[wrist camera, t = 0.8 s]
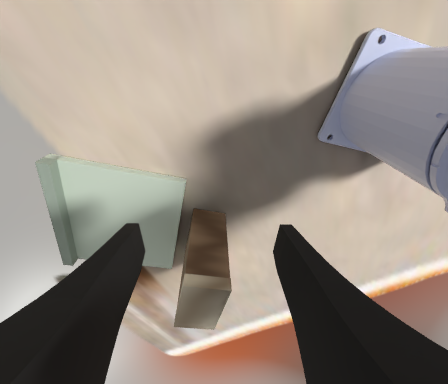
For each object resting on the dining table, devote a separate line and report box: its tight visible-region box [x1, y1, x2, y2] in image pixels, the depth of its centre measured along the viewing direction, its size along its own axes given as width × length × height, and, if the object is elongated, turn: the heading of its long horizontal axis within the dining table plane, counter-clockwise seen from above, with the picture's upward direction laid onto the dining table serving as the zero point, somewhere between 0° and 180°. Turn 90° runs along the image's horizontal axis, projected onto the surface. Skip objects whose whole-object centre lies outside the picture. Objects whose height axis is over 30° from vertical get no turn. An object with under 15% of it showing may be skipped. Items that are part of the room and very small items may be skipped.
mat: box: [35, 154, 186, 269], centre depth 22 cm, size 12×13×2 cm
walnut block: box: [174, 209, 232, 330], centre depth 20 cm, size 4×6×9 cm, turn 166°
